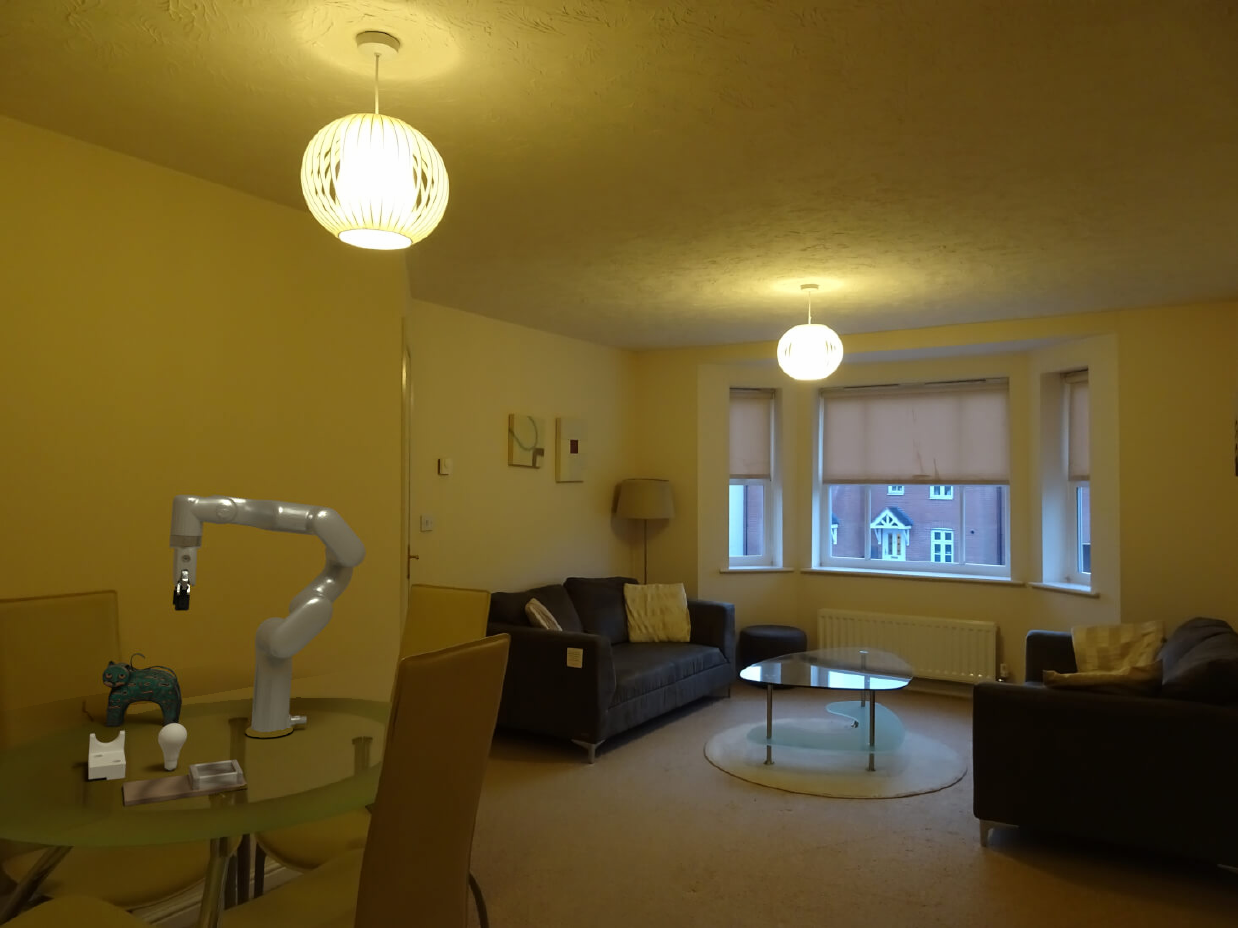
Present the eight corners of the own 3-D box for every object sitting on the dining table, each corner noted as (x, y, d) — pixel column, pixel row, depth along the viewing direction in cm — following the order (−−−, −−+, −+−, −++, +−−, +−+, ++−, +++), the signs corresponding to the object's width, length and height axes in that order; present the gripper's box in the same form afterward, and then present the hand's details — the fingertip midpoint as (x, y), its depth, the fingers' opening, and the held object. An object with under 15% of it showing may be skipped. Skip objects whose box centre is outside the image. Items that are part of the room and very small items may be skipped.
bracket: (87, 765, 199) (90, 733, 199) (122, 761, 203) (124, 730, 203) (88, 783, 188) (90, 749, 188) (124, 778, 192) (127, 745, 192)
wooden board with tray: (239, 772, 199) (240, 757, 199) (247, 789, 189) (248, 773, 189) (122, 787, 186) (124, 771, 186) (124, 805, 176) (126, 789, 176)
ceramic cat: (97, 728, 227) (102, 654, 227) (108, 721, 233) (113, 649, 234) (175, 728, 230) (180, 655, 230) (183, 722, 236) (188, 651, 237)
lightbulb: (172, 775, 195) (175, 728, 195) (149, 772, 196) (152, 725, 196) (190, 767, 201) (193, 721, 201) (168, 764, 202) (171, 718, 202)
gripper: (204, 545, 212) (199, 612, 212) (198, 539, 227) (193, 602, 227) (171, 544, 209) (165, 612, 208) (167, 539, 223) (162, 603, 223)
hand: (180, 607), depth 217 cm, fingers open, 9 cm apart
